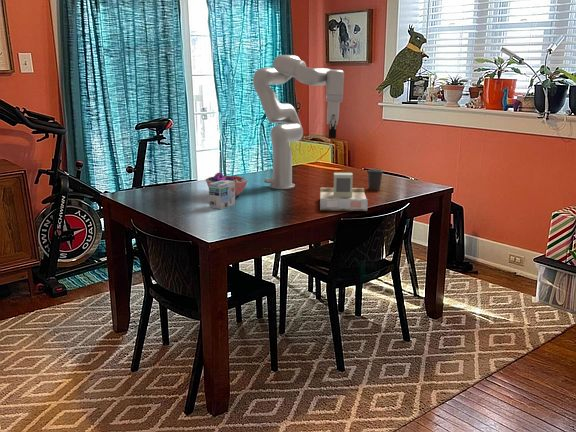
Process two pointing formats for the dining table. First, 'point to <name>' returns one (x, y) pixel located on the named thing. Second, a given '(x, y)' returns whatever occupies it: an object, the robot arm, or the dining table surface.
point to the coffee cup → (374, 178)
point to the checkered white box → (343, 200)
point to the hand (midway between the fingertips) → (332, 136)
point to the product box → (343, 184)
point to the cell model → (239, 181)
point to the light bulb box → (222, 194)
